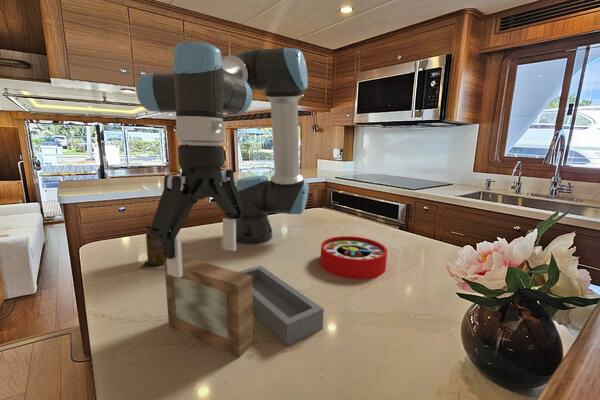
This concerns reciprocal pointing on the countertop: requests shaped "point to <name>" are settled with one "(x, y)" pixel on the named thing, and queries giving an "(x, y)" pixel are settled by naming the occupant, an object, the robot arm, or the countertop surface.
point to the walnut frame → (212, 305)
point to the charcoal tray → (283, 307)
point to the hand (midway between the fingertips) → (205, 261)
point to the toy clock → (353, 257)
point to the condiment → (154, 252)
